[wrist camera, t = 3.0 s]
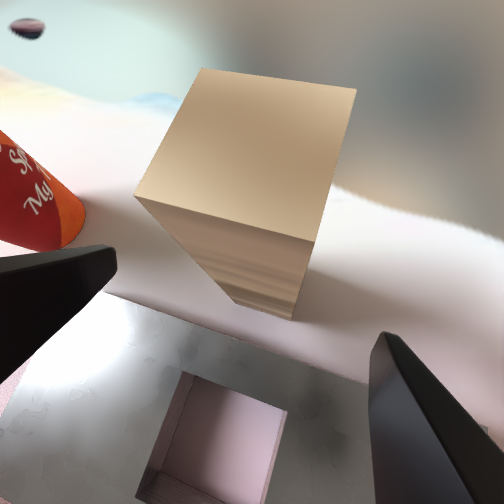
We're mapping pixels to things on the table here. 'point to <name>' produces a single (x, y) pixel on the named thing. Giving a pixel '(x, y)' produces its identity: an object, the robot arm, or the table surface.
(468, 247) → the table surface
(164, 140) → the maple peg
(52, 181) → the paper cup
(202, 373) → the socket plate
